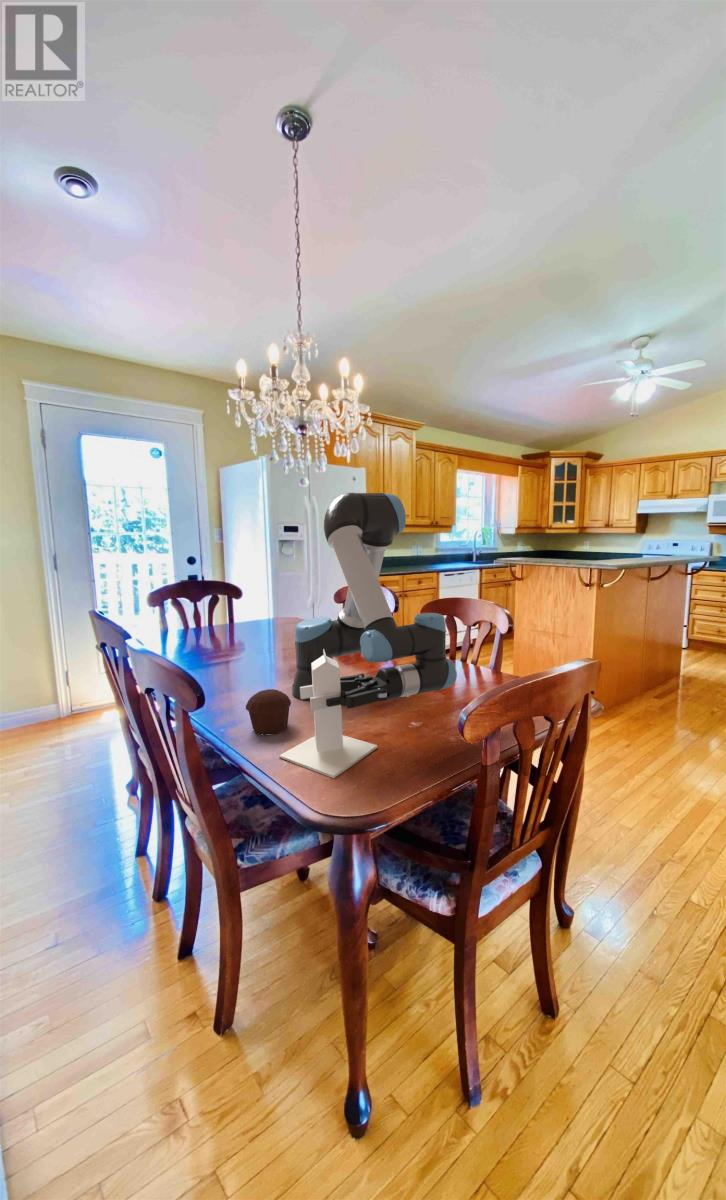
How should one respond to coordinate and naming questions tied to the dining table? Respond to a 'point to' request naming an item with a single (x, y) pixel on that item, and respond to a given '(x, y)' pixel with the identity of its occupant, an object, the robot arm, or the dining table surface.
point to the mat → (328, 756)
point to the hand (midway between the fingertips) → (305, 698)
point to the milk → (329, 718)
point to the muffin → (269, 711)
